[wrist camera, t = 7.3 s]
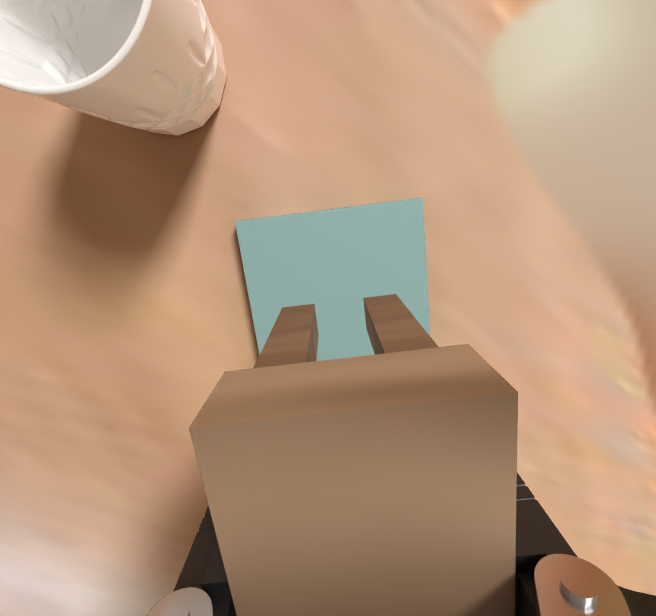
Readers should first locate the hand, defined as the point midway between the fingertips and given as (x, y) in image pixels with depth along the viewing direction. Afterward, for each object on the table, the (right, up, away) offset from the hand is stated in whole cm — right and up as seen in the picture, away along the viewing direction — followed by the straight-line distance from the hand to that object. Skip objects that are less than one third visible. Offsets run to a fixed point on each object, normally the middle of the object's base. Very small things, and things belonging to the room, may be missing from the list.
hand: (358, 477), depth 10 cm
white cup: (-10, +18, +10) cm, 23 cm away
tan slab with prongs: (0, +1, +4) cm, 4 cm away
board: (0, +4, +14) cm, 14 cm away
